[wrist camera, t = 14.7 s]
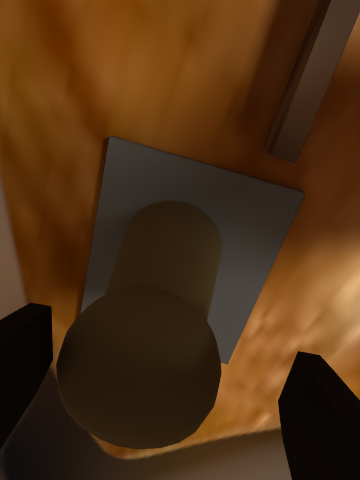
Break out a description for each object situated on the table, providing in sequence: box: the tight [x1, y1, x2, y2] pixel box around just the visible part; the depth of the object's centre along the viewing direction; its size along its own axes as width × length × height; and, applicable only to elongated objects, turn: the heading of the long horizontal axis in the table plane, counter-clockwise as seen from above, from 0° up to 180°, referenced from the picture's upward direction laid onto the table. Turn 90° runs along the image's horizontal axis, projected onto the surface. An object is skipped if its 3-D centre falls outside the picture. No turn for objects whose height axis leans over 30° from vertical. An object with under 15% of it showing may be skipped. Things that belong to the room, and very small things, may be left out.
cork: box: [56, 200, 222, 449], centre depth 13 cm, size 6×6×11 cm
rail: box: [263, 0, 360, 163], centre depth 13 cm, size 12×1×2 cm, turn 165°
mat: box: [80, 136, 305, 364], centre depth 19 cm, size 13×11×1 cm
